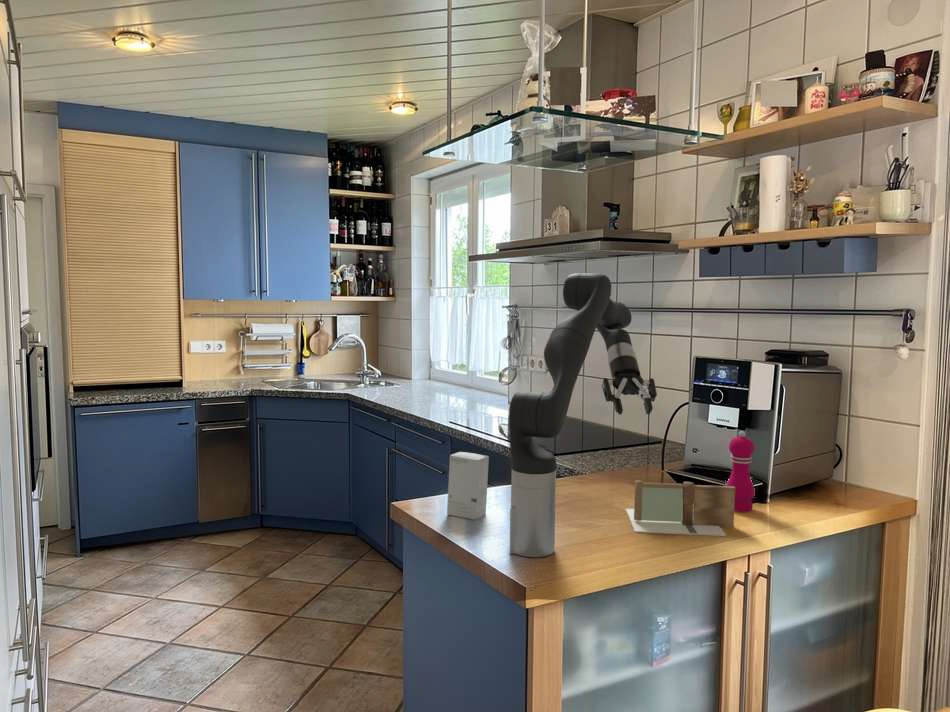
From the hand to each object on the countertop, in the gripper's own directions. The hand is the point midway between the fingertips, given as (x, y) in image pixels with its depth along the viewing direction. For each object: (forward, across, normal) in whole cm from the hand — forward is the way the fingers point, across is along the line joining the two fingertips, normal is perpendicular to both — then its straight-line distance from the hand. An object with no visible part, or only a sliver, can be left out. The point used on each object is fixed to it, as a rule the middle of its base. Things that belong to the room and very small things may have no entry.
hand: (634, 412), depth 175 cm
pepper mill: (+21, +26, +13) cm, 36 cm away
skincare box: (+23, -44, +11) cm, 50 cm away
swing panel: (+28, +1, +4) cm, 28 cm away
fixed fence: (+30, +12, +3) cm, 33 cm away
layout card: (+28, +5, +5) cm, 29 cm away
